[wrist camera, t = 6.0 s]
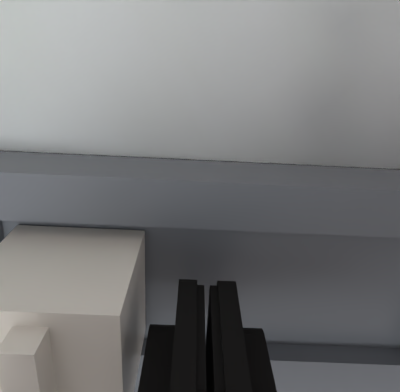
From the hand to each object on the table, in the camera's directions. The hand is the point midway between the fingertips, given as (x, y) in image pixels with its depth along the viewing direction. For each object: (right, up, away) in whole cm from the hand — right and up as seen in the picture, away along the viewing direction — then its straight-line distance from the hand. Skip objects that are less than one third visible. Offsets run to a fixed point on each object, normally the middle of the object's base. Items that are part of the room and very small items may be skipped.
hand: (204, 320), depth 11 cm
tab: (-4, +1, +2) cm, 4 cm away
